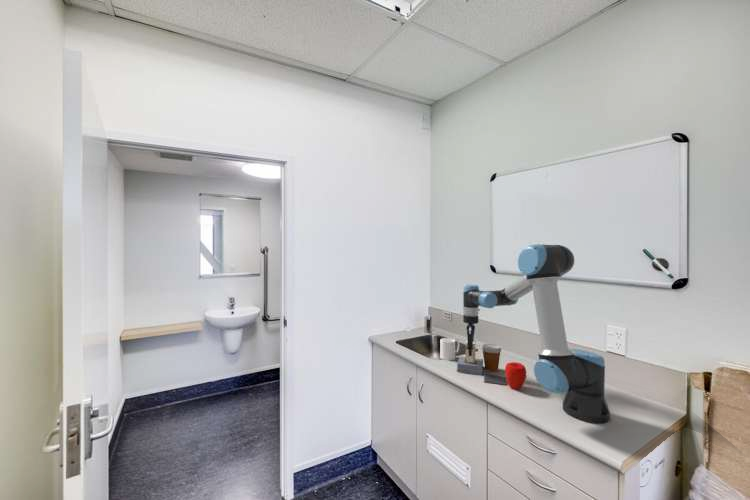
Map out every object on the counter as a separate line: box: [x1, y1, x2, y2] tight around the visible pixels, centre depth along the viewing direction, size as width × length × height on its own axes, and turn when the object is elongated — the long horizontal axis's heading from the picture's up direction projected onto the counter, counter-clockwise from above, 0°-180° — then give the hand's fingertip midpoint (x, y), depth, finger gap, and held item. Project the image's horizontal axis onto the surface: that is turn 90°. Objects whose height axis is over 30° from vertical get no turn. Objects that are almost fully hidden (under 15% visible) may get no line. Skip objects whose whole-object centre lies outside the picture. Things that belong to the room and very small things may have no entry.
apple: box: [504, 361, 527, 390], centre depth 146 cm, size 9×9×11 cm
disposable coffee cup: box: [481, 343, 502, 373], centre depth 167 cm, size 10×10×12 cm
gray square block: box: [456, 356, 484, 376], centre depth 168 cm, size 12×12×4 cm
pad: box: [483, 373, 508, 387], centre depth 154 cm, size 10×10×1 cm
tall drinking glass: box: [465, 340, 477, 364], centre depth 168 cm, size 5×5×14 cm
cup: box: [439, 337, 461, 361], centre depth 186 cm, size 8×12×10 cm
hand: (470, 360), depth 168 cm, fingers closed on tall drinking glass, 5 cm apart
